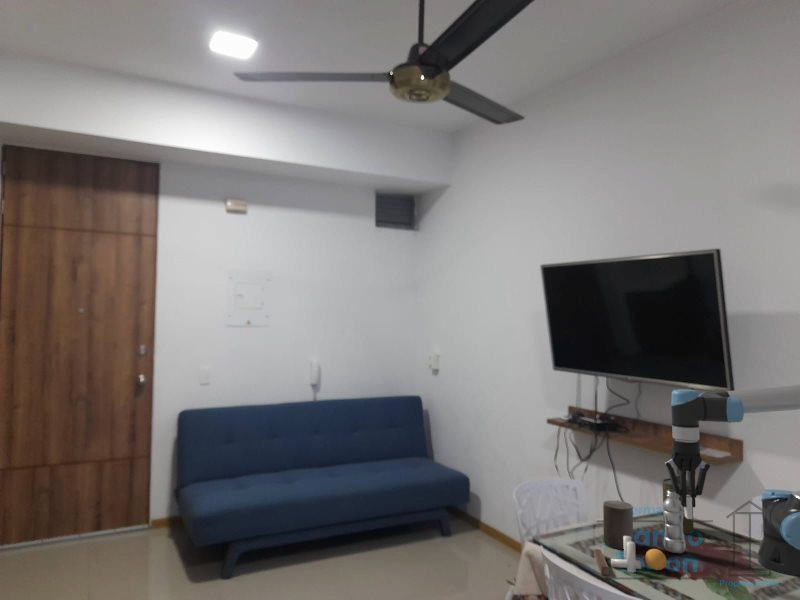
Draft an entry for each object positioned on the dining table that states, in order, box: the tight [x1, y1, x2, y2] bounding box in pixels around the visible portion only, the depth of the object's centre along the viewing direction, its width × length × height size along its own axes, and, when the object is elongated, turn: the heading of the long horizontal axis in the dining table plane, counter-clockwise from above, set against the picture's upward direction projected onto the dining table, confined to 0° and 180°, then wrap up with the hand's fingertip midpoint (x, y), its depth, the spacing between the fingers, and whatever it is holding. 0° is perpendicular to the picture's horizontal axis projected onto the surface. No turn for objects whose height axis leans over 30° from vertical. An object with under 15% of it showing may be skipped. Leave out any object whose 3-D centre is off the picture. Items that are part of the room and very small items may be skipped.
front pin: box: [610, 558, 642, 570], centre depth 176 cm, size 2×2×8 cm
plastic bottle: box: [662, 490, 687, 554], centre depth 189 cm, size 6×7×20 cm
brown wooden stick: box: [593, 548, 609, 576], centre depth 178 cm, size 2×14×2 cm, turn 170°
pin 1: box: [623, 536, 632, 560], centre depth 179 cm, size 2×2×8 cm
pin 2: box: [626, 541, 637, 574], centre depth 174 cm, size 2×2×8 cm
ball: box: [644, 548, 667, 571], centre depth 175 cm, size 6×6×6 cm
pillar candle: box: [602, 499, 634, 550], centre depth 196 cm, size 10×10×15 cm
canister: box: [661, 473, 695, 535], centre depth 211 cm, size 11×10×20 cm
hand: (688, 517), depth 174 cm, fingers closed
